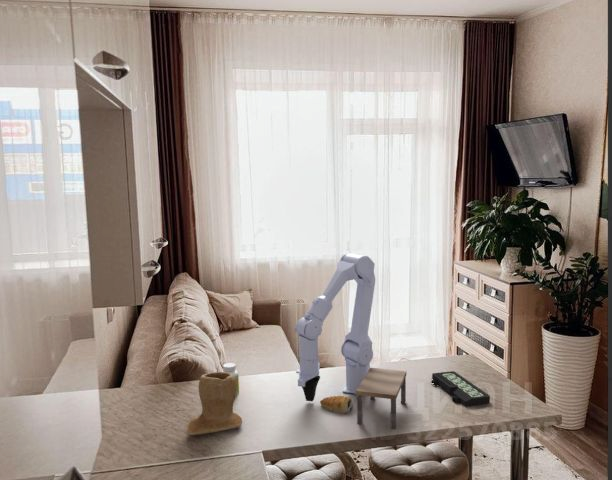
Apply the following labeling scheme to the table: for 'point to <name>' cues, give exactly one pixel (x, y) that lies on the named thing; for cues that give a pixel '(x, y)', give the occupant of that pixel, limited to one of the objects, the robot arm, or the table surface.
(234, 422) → the stone cup
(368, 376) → the wooden table
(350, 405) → the pastry
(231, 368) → the supplement bottle
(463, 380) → the digital display
